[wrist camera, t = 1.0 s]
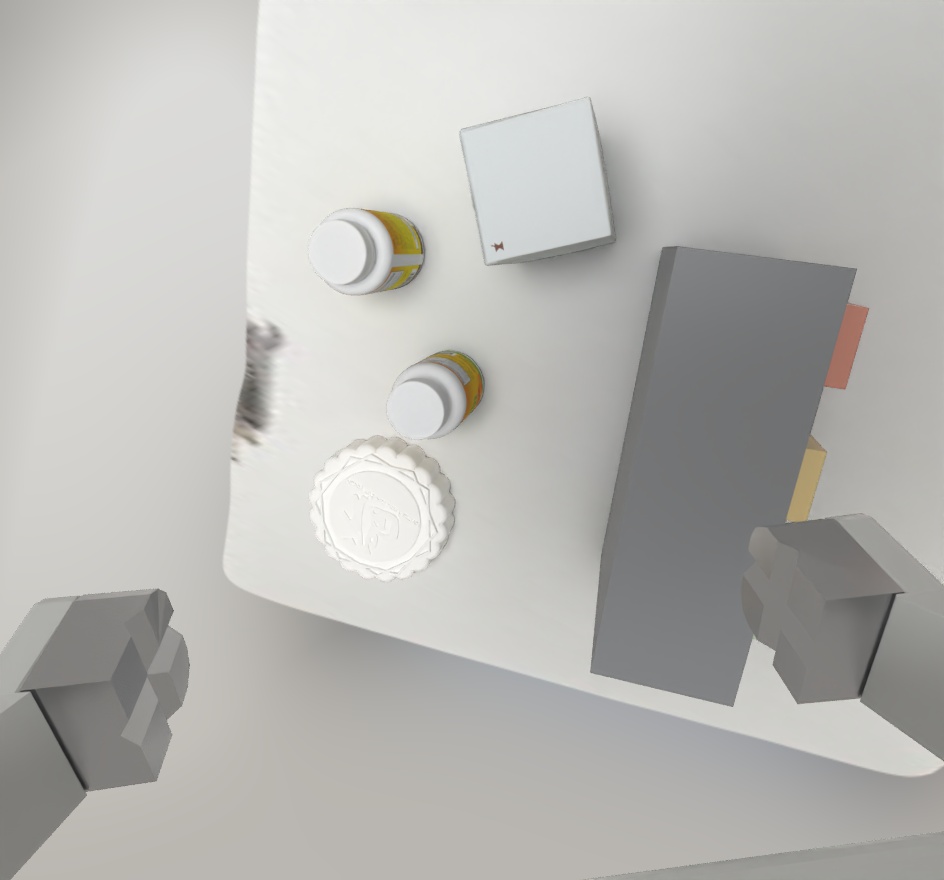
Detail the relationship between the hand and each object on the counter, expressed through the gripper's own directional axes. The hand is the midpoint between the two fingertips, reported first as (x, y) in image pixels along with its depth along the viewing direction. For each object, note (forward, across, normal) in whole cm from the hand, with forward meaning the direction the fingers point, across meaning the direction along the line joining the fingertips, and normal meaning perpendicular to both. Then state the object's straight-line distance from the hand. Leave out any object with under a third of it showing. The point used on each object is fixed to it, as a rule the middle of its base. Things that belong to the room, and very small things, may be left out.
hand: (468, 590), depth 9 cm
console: (+35, -18, +18) cm, 44 cm away
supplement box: (+42, -10, +3) cm, 43 cm away
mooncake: (+41, +4, +26) cm, 49 cm away
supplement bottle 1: (+45, +2, +6) cm, 46 cm away
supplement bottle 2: (+42, -2, +16) cm, 44 cm away
